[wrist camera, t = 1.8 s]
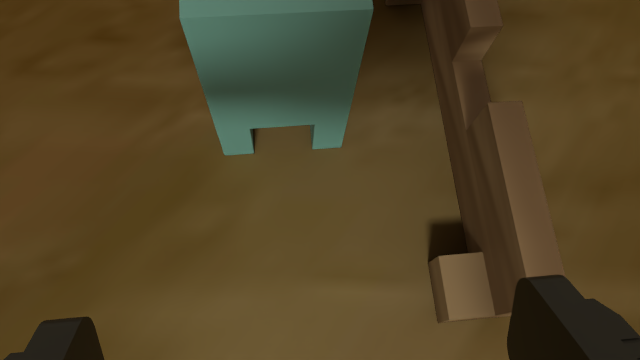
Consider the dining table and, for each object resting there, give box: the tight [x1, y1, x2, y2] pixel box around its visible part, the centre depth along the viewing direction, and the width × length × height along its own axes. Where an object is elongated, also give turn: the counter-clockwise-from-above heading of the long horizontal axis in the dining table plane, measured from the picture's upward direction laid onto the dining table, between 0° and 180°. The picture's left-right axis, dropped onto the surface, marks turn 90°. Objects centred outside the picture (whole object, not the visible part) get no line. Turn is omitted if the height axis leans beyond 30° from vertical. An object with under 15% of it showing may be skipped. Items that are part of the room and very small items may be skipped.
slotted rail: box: [385, 0, 565, 323], centre depth 27 cm, size 6×22×6 cm, turn 5°
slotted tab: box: [179, 0, 373, 155], centre depth 23 cm, size 6×2×12 cm, turn 95°
